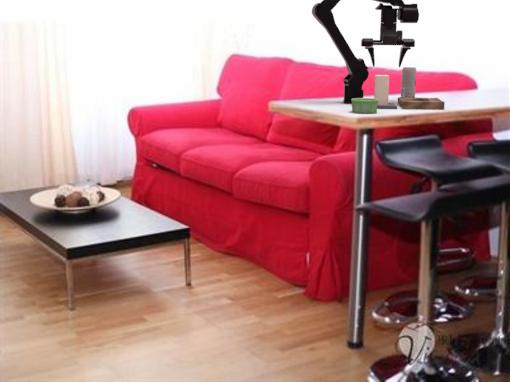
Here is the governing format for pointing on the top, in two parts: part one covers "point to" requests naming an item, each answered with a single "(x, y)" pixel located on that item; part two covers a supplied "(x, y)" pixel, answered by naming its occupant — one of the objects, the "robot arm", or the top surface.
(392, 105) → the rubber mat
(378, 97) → the pink block
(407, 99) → the pocket block
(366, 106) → the ramekin
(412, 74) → the energy drink
